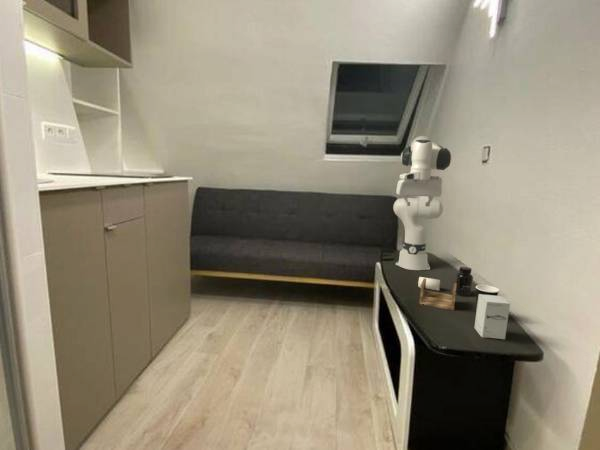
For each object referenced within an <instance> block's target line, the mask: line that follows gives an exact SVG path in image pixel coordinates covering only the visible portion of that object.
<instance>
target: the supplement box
mask: <svg viewBox="0 0 600 450" xmlns="http://www.w3.org/2000/svg"><path fill="white" fill-rule="evenodd" d="M510 307H511V303H510V302H509V301H508V300H507V299H505V298H504V297H503V296H501V295H498V296H494V295H483V294H479V296H478V304H477V312H476V313H475V320H474V329H475V331H476V332H477V333H478V335H479V336H480V337H481V338H488V339H489V338H490V339H498V340H499V339H500V340H506V334H507V329H508V328H507V327H508V321H509V313H510Z"/></svg>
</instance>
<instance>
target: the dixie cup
mask: <svg viewBox="0 0 600 450" xmlns="http://www.w3.org/2000/svg"><path fill="white" fill-rule="evenodd" d="M475 289H476V290H475V291H476V294H475V295H476V298H475V299H476V300H475V302H476V305H475V306H476V308H475V309H476V310H475V311H476V312H477V304H478V296H479V294H483V295H494V296H499V292H500V289H499V288H498V287H495V286H492V285H487V284H477V285H476V286H475Z"/></svg>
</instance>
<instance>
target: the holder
mask: <svg viewBox="0 0 600 450" xmlns="http://www.w3.org/2000/svg"><path fill="white" fill-rule="evenodd" d="M425 278H426V277H424V279H423V281H422V284H421V288H420V291H419V292H420V293H419V303H418V304H419V305H423V304H424V306H430V307H435V308H440V309H445V310H451V311H455V304H456V303H455V302H456V295H457V294H456V287H457V283H455V282H454V283H453V289H452V290H451V294H448V293H441V292H436V291H431V290H430V291H429V290H427V289H426V279H425Z"/></svg>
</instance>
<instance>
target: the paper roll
mask: <svg viewBox="0 0 600 450" xmlns="http://www.w3.org/2000/svg"><path fill="white" fill-rule="evenodd" d="M424 278H425V279H426V290H430V291H438V292H439V291H440V288H441V279H437V278H430V277H424V276H423V277H422V276H419V277H418V282H417V285H418V288H420V289H421V284H422V281H423V279H424Z"/></svg>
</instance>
